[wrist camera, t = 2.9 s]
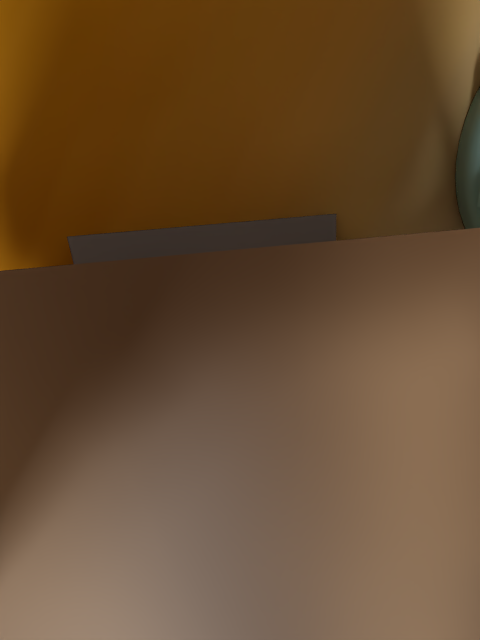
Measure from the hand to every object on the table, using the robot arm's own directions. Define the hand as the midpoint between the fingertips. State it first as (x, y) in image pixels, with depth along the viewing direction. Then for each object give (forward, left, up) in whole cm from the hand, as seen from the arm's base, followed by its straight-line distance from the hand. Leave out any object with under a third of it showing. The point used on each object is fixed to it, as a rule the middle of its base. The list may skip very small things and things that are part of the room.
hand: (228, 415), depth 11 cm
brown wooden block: (0, 0, 0) cm, 0 cm away
